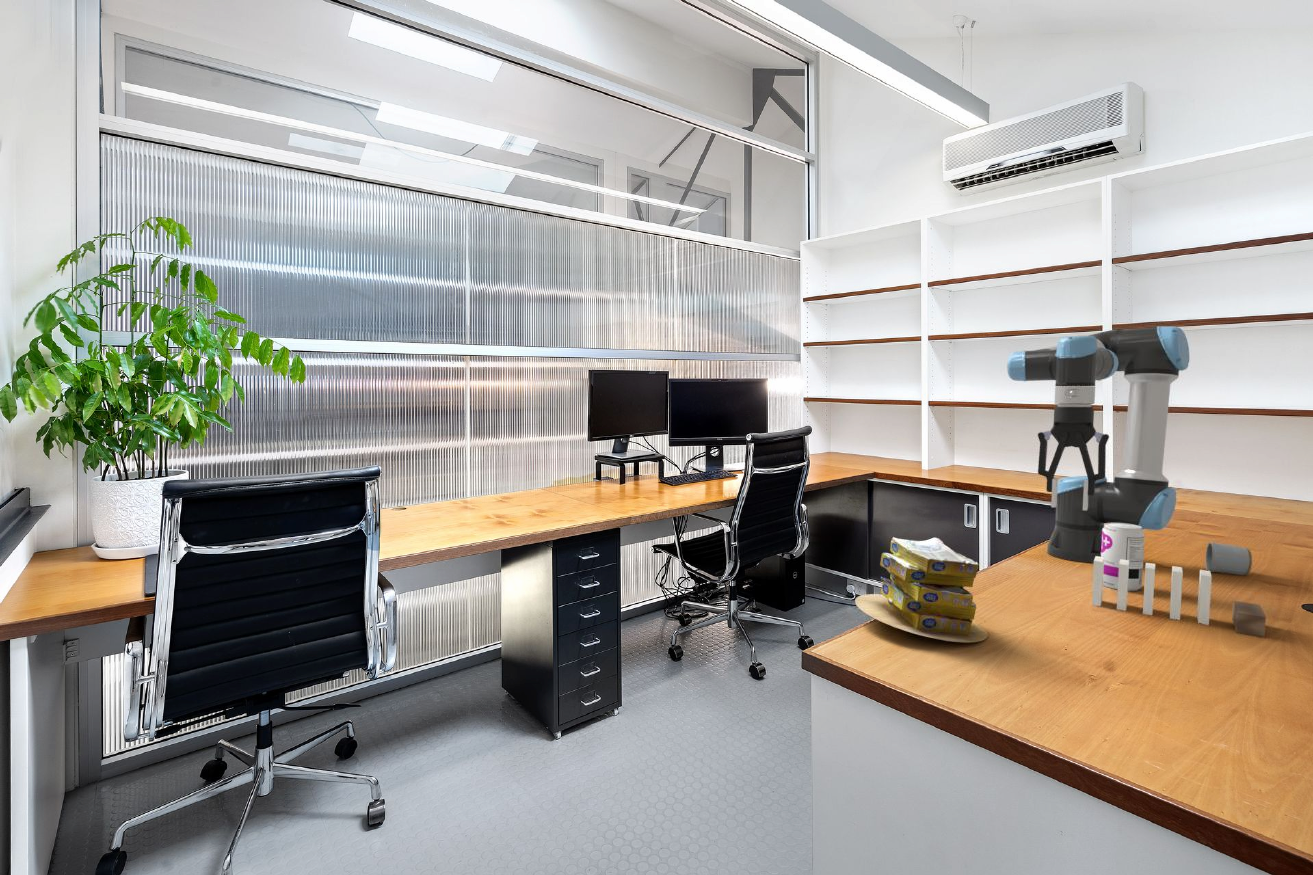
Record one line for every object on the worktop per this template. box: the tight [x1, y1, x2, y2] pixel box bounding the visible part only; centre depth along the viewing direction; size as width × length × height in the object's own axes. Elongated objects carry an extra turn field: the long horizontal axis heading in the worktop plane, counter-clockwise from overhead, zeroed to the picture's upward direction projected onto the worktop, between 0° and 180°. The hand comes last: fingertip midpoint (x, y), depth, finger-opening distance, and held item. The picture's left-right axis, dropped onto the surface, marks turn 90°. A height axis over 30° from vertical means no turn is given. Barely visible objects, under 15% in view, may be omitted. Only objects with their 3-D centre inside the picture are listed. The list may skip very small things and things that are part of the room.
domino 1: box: [1091, 556, 1104, 607], centre depth 142 cm, size 2×5×10 cm, turn 142°
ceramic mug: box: [1205, 541, 1253, 576], centre depth 167 cm, size 11×8×8 cm
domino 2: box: [1116, 559, 1129, 612], centre depth 139 cm, size 2×5×10 cm, turn 141°
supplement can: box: [1101, 523, 1145, 592], centre depth 153 cm, size 8×8×15 cm
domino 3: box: [1142, 562, 1156, 616], centre depth 136 cm, size 2×5×10 cm, turn 142°
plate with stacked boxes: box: [854, 536, 988, 643], centre depth 128 cm, size 25×25×17 cm
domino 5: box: [1196, 569, 1212, 626], centre depth 130 cm, size 2×5×10 cm, turn 142°
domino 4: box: [1169, 565, 1184, 621], centre depth 133 cm, size 2×5×10 cm, turn 142°
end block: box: [1231, 600, 1267, 638], centre depth 126 cm, size 4×9×4 cm, turn 142°
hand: (1069, 507), depth 144 cm, fingers open, 5 cm apart
